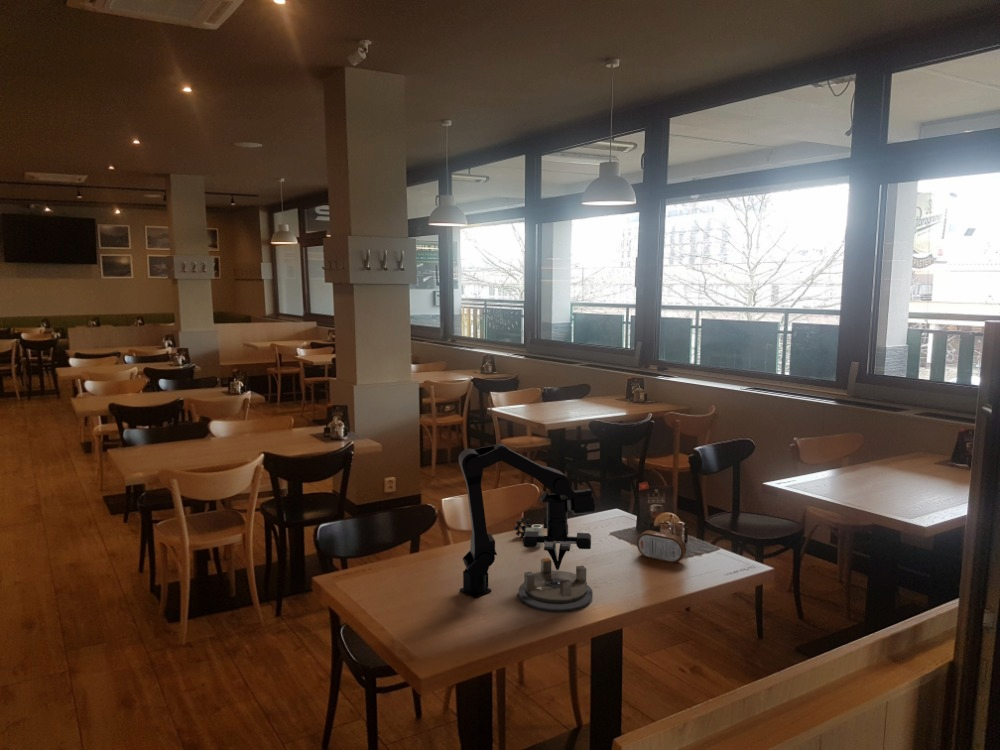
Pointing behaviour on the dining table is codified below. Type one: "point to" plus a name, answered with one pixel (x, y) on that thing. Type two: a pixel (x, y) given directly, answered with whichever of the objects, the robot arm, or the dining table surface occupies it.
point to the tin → (661, 546)
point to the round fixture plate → (555, 584)
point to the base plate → (555, 607)
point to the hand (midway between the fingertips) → (557, 569)
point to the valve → (529, 529)
